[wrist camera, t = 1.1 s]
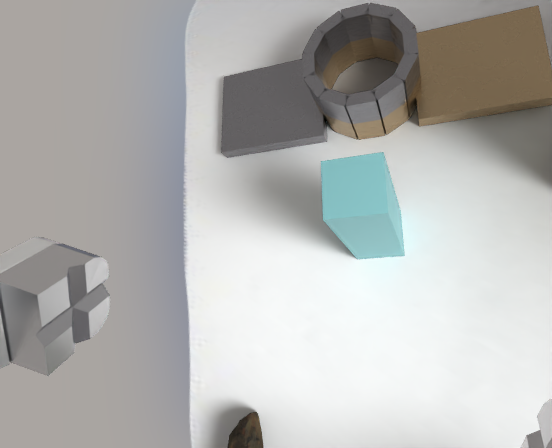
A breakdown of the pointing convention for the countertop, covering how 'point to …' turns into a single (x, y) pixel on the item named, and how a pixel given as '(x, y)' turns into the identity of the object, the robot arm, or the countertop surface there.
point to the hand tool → (247, 433)
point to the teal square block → (362, 205)
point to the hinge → (389, 79)
